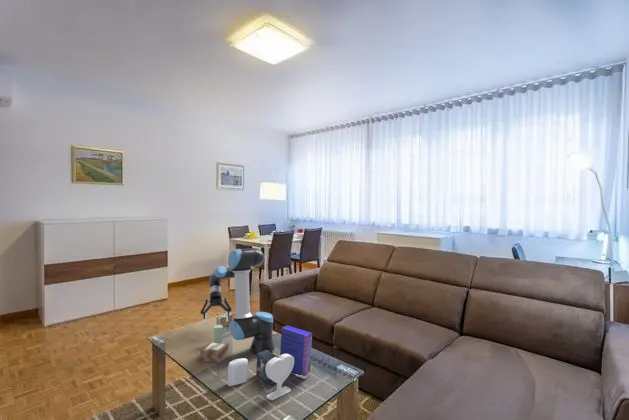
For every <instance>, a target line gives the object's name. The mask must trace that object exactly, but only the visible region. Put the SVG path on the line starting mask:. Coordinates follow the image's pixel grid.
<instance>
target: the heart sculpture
mask: <svg viewBox="0 0 629 420" xmlns="http://www.w3.org/2000/svg"><path fill="white" fill-rule="evenodd" d="M277 357H279V358H277ZM277 357H274V358H272V359H271V360H270V361H268V362H267V364H266V368H265V370H266V375H267V376H268V378H270V379H271V380H272V381H274V382H276V390H275V391H272V392H270V393H269V394H267V395H266V398H267V399H268V400H270V401H274V400H276V399H278V398H280V397H282V396H284V395H286V394H287V393H290V392H291V391H292V389H291V388H290V386H283V383H284V382H285V381H286V380H287V379H288V378H289V376H290V373H291V371H292V369H293V366H294V357H293V356H291V355H289V354H282V355H281V356H280V355H279V356H277Z"/></svg>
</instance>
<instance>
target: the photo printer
mask: <svg viewBox="0 0 629 420" xmlns="http://www.w3.org/2000/svg"><path fill="white" fill-rule="evenodd" d="M248 367H249V359H247V358H245V357H244V358H243V357H242V358H236V359H233V360H232V361H230V362H228V368H227V369H228V370H227V386H228V387H233V386H234V387H235V386H237V385H241V384H245V383H247V382H248V370H249V368H248Z"/></svg>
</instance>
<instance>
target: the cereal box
mask: <svg viewBox="0 0 629 420" xmlns="http://www.w3.org/2000/svg"><path fill="white" fill-rule="evenodd" d="M280 331H281V333H280V349H279V351H280V352H279V354H280V355H279V357H280V356H281V355H282V354H289V355H291V356H293V357H294V366H293V369H292V371H291V373H293V374H298V375H303V376H306V375H307V374H308V373H309V372H310V373H311V361H312V343H313V342H312V341H313V333H312V332H310V331H307V330H302V329H301V328H297V327H295V326H291V325H284V326H282V327H281V330H280Z"/></svg>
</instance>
